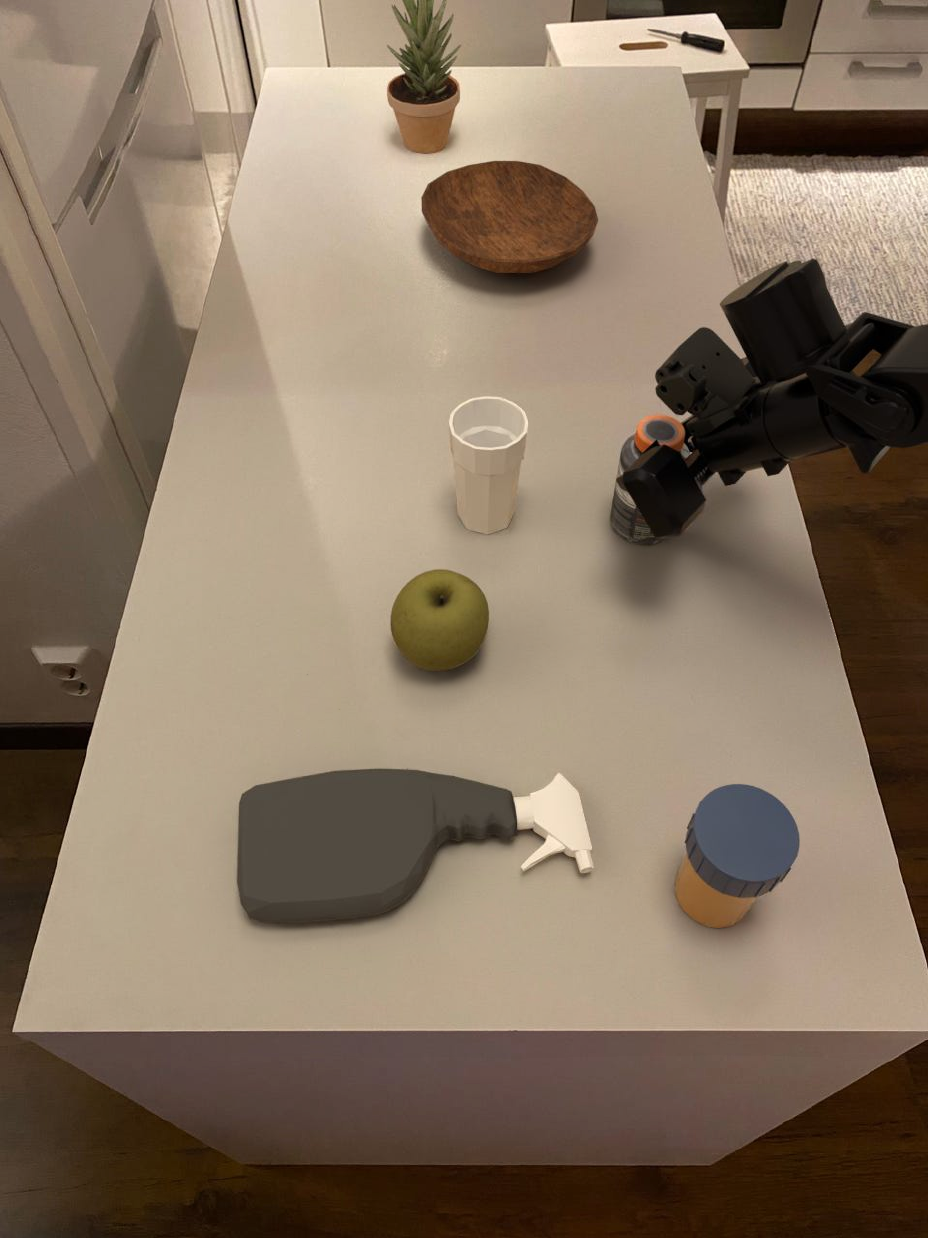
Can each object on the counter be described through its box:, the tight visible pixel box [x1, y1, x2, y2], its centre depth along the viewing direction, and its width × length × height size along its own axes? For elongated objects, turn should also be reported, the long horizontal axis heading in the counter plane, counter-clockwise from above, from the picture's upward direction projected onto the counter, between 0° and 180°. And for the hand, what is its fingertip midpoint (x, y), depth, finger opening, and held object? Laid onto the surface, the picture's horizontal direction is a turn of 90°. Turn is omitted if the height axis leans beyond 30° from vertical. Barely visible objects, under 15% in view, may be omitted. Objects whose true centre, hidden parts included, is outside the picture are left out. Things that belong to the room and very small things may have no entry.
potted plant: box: [386, 0, 462, 154], centre depth 119 cm, size 10×10×25 cm
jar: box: [674, 853, 757, 929], centre depth 62 cm, size 5×5×10 cm
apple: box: [389, 568, 490, 672], centre depth 76 cm, size 8×8×7 cm
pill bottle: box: [609, 414, 691, 545], centre depth 82 cm, size 6×6×11 cm
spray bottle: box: [236, 768, 595, 923], centre depth 67 cm, size 3×11×24 cm
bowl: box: [420, 160, 599, 274], centre depth 112 cm, size 20×22×5 cm
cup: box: [448, 395, 529, 536], centre depth 83 cm, size 7×7×11 cm
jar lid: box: [684, 783, 801, 899], centre depth 59 cm, size 6×6×3 cm
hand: (639, 463), depth 82 cm, fingers closed on pill bottle, 6 cm apart
